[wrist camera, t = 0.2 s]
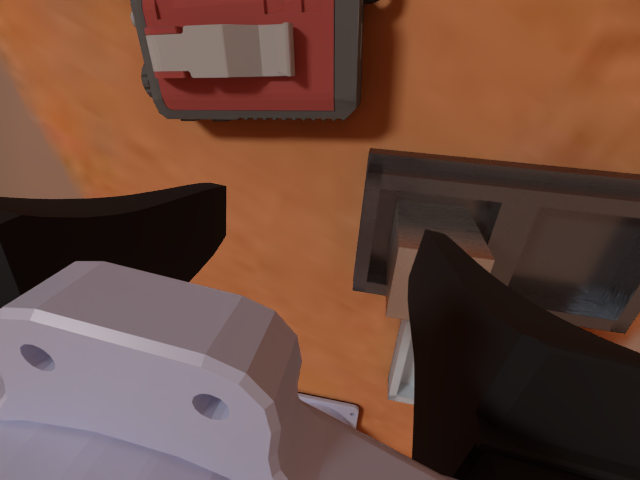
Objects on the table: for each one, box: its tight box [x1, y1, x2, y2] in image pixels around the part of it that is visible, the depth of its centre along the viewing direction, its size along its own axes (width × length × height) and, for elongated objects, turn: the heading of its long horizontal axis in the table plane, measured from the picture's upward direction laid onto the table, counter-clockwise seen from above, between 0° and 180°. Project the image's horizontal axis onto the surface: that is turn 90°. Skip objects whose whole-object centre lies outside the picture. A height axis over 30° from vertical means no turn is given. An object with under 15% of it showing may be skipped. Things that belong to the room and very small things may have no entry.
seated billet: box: [386, 198, 495, 320], centre depth 18 cm, size 4×4×6 cm
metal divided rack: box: [353, 148, 640, 334], centre depth 20 cm, size 9×16×3 cm, turn 87°
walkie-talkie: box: [130, 0, 379, 121], centre depth 17 cm, size 9×4×20 cm
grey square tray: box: [388, 319, 414, 405], centre depth 25 cm, size 9×9×2 cm
